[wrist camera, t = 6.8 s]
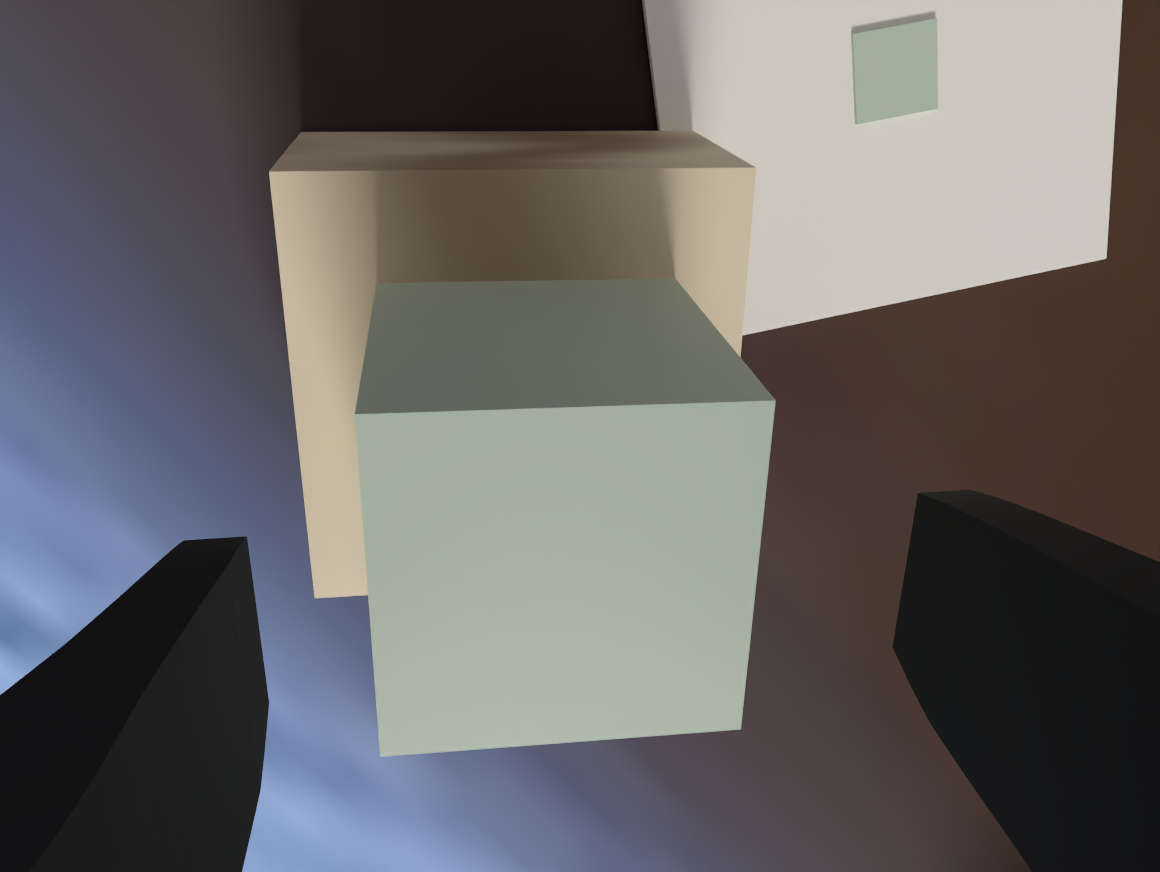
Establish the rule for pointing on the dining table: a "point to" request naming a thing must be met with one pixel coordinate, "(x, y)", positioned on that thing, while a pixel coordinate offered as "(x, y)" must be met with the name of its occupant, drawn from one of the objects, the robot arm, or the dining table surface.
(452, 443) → the sage cube
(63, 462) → the dining table surface
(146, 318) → the dining table surface
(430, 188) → the beech base
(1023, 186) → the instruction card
